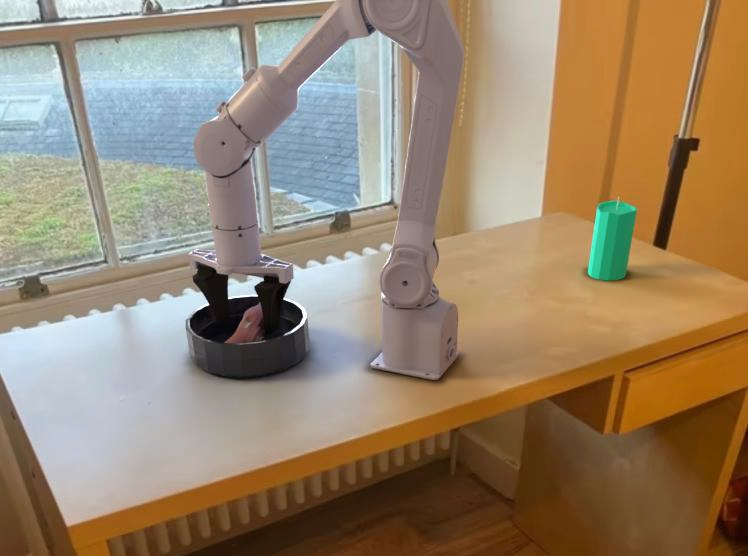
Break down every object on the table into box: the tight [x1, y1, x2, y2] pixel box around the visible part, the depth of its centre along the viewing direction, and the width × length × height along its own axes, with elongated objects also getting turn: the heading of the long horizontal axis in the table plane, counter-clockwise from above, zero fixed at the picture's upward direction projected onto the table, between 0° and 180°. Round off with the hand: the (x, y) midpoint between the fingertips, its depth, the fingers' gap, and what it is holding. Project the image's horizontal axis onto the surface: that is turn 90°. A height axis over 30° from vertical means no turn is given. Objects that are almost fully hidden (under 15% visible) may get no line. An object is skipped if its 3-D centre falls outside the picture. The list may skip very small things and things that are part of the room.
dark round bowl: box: [185, 294, 311, 379], centre depth 108 cm, size 16×16×5 cm
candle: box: [587, 196, 638, 281], centre depth 126 cm, size 6×6×12 cm
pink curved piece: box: [225, 302, 265, 343], centre depth 107 cm, size 10×5×7 cm, turn 167°
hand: (247, 326), depth 107 cm, fingers open, 7 cm apart
